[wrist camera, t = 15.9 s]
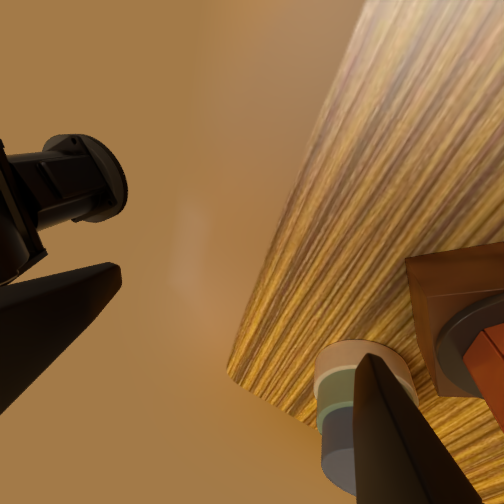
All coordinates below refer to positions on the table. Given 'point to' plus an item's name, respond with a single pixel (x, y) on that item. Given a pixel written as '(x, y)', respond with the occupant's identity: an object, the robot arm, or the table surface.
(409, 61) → the table surface
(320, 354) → the disc stack
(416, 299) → the coaster stand
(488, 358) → the terracotta octagonal pot
